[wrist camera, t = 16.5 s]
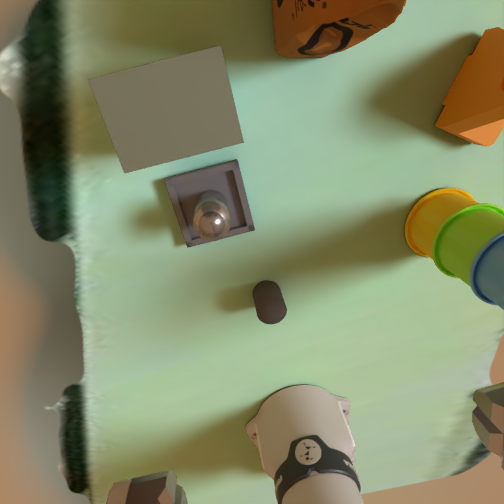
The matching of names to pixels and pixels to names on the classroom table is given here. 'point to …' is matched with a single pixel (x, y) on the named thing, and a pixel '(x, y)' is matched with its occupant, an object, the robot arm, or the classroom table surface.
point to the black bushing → (269, 302)
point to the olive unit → (168, 109)
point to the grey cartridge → (211, 216)
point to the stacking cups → (461, 239)
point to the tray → (209, 178)
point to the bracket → (478, 93)
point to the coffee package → (328, 24)
